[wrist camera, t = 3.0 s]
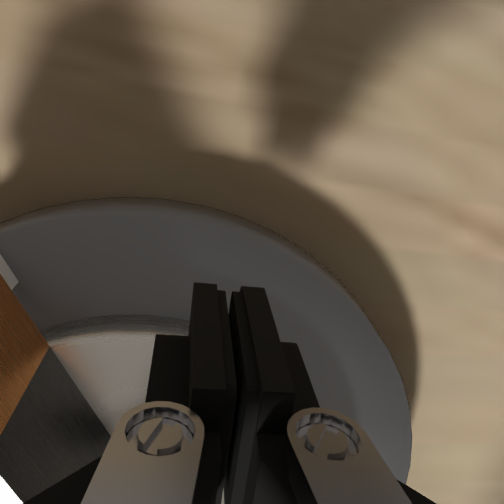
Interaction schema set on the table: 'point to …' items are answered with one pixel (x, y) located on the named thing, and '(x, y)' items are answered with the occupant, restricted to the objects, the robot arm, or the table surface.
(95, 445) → the dial
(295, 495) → the robot arm
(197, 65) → the table surface
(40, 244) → the dial base
